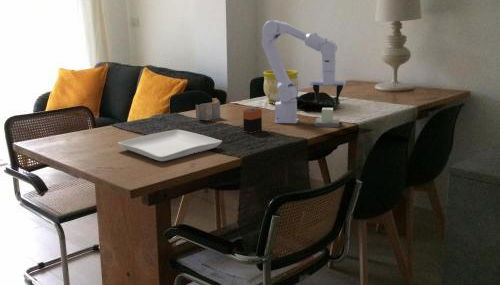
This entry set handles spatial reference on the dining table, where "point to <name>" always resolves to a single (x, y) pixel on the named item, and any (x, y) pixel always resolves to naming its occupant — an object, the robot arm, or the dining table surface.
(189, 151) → the square plate
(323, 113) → the block
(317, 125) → the trivet
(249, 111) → the battery
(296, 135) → the dining table surface
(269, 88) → the flowerpot
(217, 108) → the ruin model on sheet
